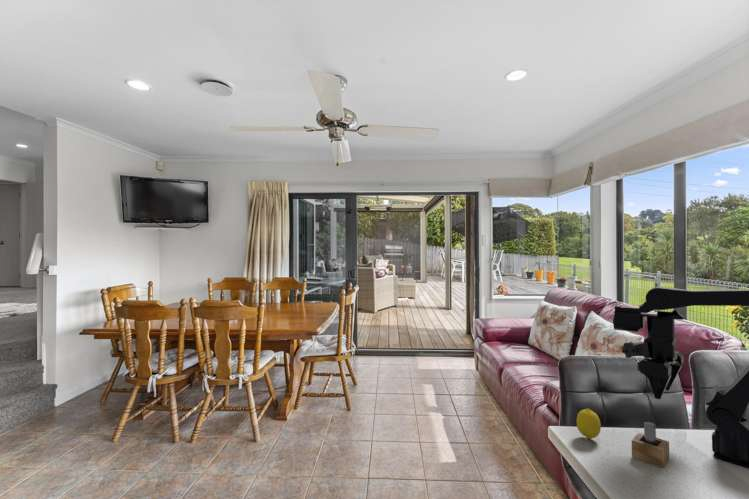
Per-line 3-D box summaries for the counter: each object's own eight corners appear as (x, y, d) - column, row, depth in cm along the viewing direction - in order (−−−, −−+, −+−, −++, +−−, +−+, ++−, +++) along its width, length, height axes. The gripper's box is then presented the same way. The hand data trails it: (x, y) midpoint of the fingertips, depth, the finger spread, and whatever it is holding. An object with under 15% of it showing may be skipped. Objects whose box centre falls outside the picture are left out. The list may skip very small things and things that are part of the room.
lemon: (594, 434, 98) (593, 404, 98) (605, 445, 92) (604, 413, 92) (573, 433, 98) (572, 404, 98) (582, 444, 93) (582, 412, 93)
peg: (657, 457, 86) (656, 424, 86) (655, 461, 85) (654, 427, 85) (646, 454, 88) (645, 421, 88) (643, 457, 86) (642, 423, 86)
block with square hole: (669, 458, 86) (669, 441, 86) (663, 468, 82) (662, 450, 82) (639, 448, 90) (638, 432, 90) (631, 457, 86) (631, 440, 87)
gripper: (634, 325, 107) (636, 378, 107) (613, 334, 95) (614, 394, 95) (683, 331, 98) (685, 389, 98) (666, 342, 86) (668, 407, 86)
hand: (662, 394), depth 94 cm, fingers open, 9 cm apart
